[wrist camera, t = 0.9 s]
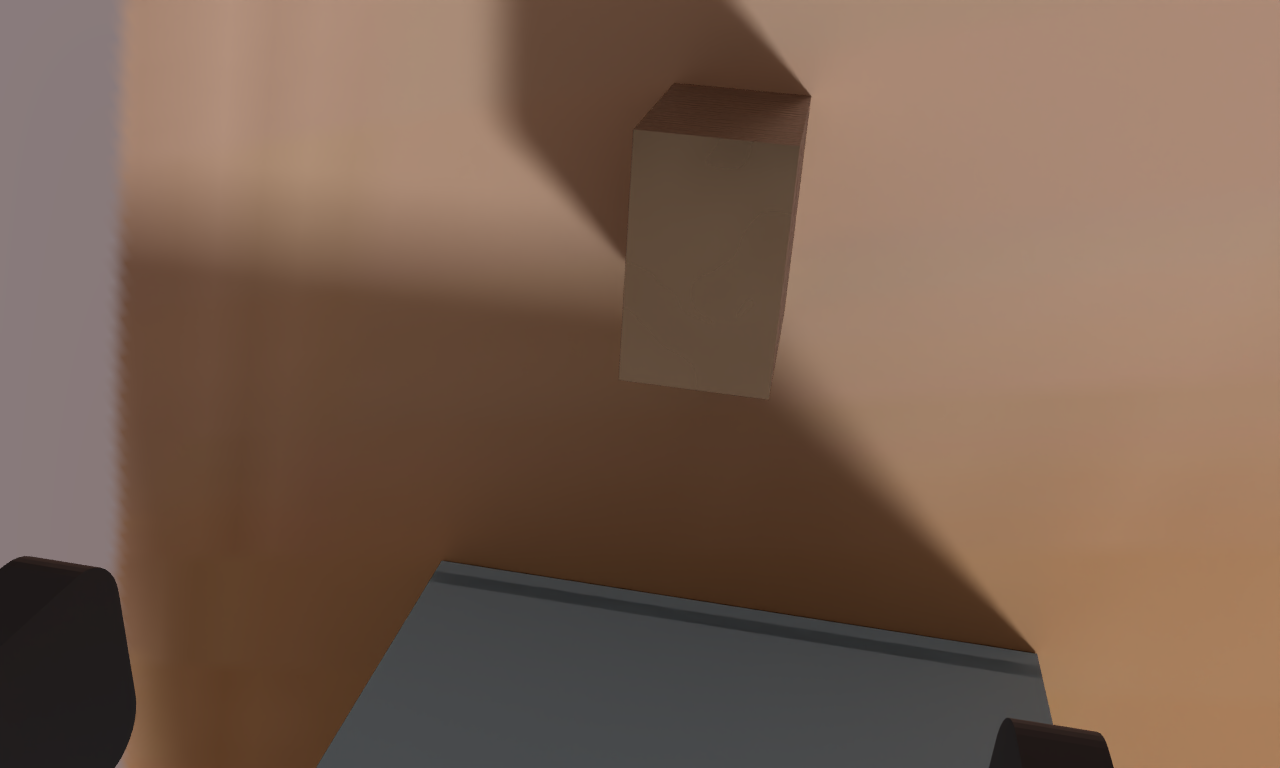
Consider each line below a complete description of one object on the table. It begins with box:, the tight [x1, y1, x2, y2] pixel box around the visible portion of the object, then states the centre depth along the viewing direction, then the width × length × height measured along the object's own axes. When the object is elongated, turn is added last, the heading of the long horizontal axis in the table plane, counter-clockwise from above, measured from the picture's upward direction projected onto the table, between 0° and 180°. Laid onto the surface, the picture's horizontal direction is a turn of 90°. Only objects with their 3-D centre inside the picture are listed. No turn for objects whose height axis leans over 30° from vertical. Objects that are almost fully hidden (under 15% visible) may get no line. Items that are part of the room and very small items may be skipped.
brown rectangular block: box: [619, 83, 811, 400], centre depth 23 cm, size 3×5×5 cm, turn 176°
